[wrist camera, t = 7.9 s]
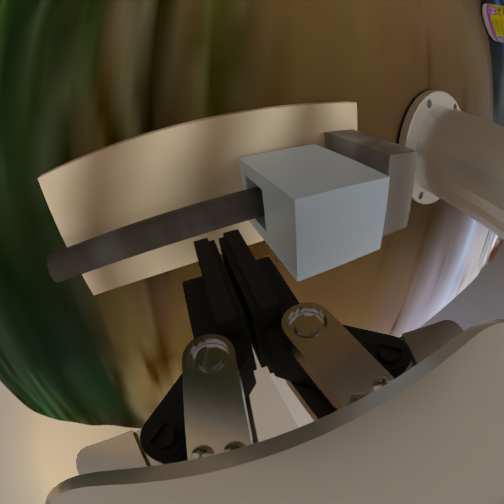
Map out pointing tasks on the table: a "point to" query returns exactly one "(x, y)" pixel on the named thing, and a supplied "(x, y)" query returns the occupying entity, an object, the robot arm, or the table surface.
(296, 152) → the sleeve
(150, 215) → the board
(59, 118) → the table surface
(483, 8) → the supplement bottle
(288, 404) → the milk
